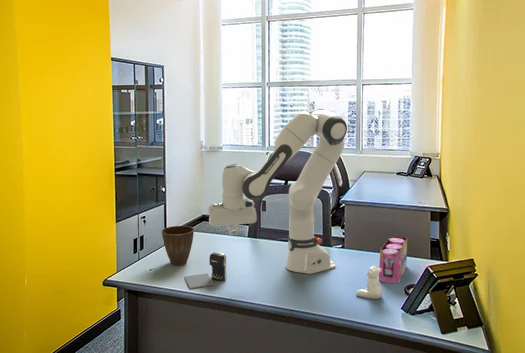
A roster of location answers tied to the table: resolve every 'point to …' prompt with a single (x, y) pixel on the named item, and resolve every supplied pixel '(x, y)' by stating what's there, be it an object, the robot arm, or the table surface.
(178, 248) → the plant pot
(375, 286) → the white creature statuette
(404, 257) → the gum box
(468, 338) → the table surface
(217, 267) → the battery charger
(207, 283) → the mat
